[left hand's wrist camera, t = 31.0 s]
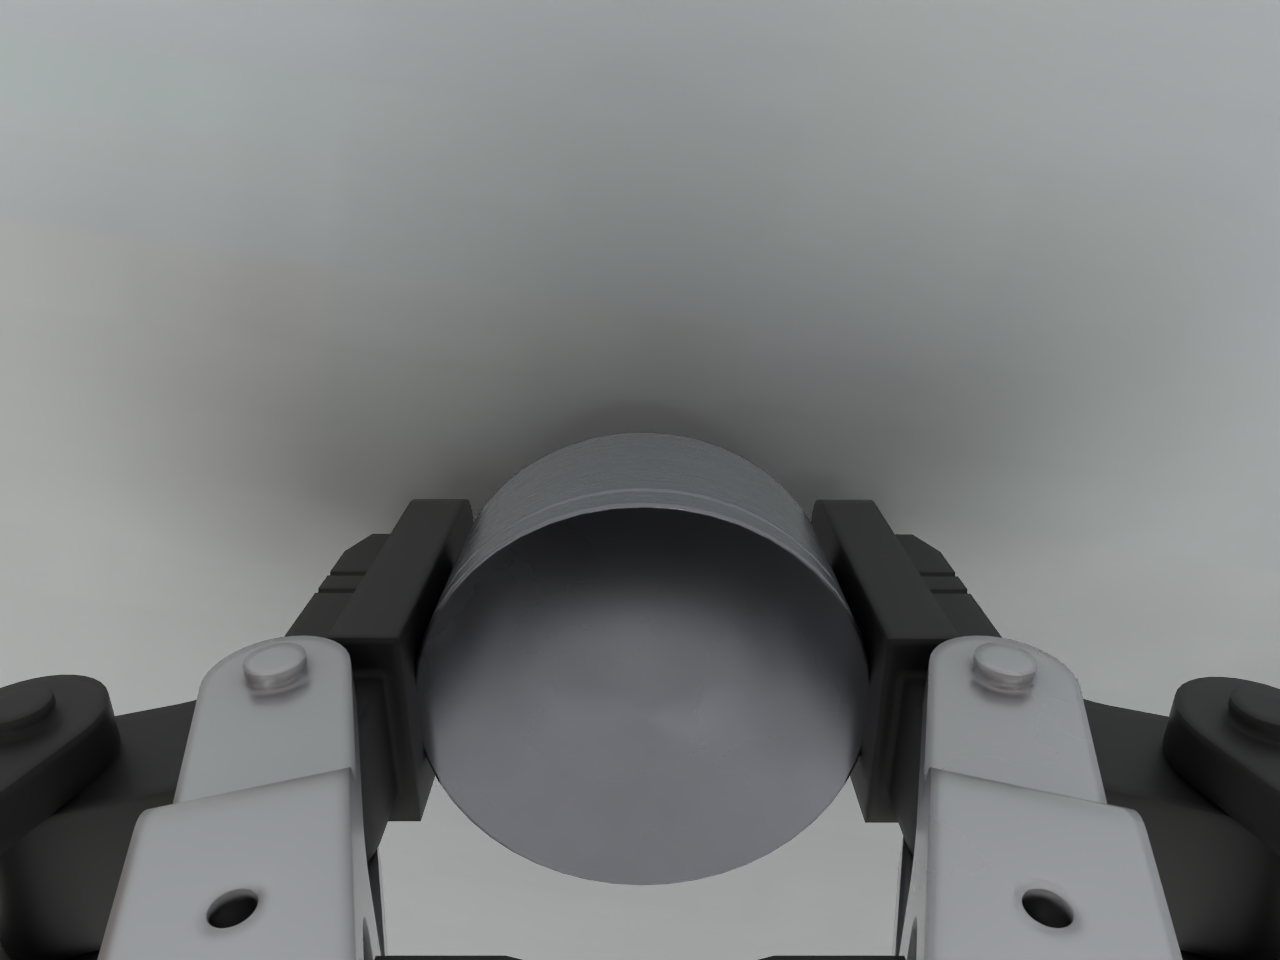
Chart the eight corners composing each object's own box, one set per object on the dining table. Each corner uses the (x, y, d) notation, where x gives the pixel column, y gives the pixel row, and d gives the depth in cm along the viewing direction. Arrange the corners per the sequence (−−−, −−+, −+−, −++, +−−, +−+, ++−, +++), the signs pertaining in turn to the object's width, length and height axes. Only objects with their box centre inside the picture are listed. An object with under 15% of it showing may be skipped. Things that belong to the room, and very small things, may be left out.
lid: (722, 358, 10) (743, 415, 8) (890, 668, 11) (943, 783, 9) (378, 544, 10) (317, 639, 8) (578, 809, 12) (566, 942, 10)
